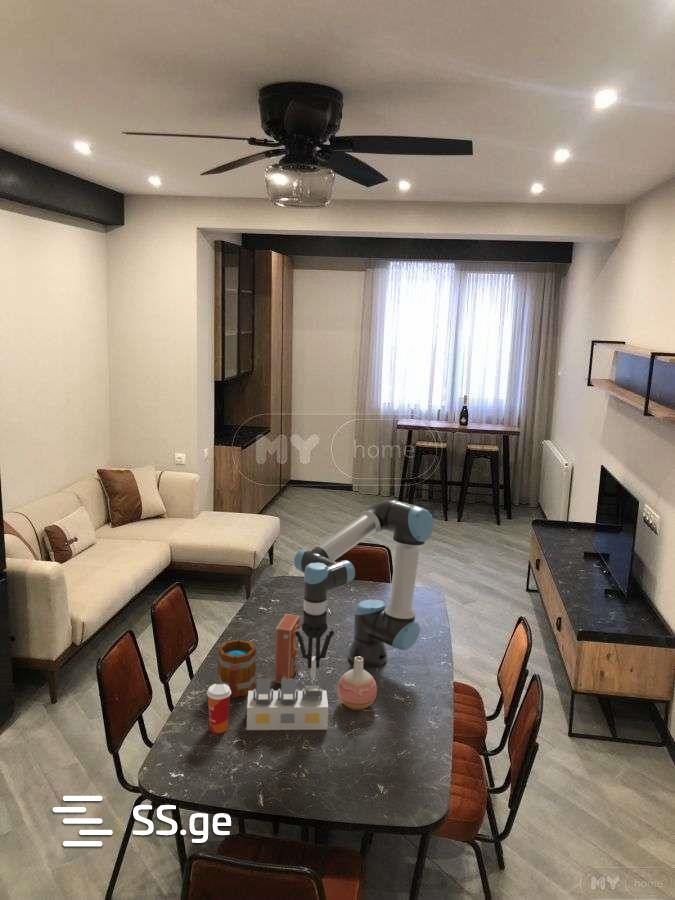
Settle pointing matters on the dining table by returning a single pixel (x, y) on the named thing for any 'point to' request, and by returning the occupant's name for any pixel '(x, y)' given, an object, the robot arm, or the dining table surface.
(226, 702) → the paper cup
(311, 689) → the rocker
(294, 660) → the control panel
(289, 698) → the rocker
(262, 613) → the dining table surface
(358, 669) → the vase
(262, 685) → the rocker
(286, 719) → the console
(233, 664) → the mug
